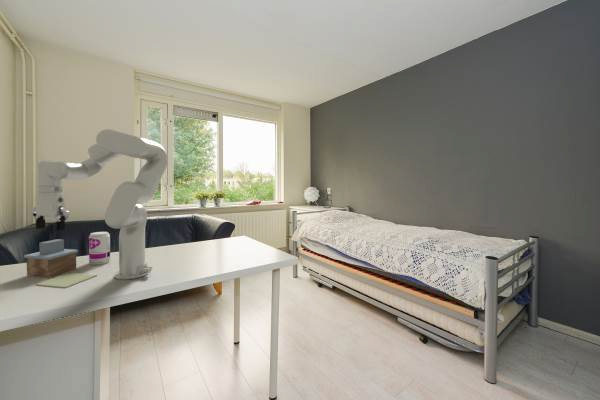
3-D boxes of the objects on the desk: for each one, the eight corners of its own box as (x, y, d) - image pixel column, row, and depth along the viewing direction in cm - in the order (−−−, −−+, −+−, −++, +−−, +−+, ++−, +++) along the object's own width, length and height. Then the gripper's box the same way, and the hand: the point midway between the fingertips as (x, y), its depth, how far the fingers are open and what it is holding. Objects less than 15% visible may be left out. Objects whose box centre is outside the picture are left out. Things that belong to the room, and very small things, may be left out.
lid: (78, 254, 116) (77, 239, 116) (49, 262, 104) (48, 245, 104) (55, 252, 117) (54, 237, 117) (24, 260, 105) (23, 243, 105)
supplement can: (98, 266, 121) (98, 235, 120) (84, 264, 123) (84, 233, 122) (114, 261, 129) (114, 232, 128) (101, 259, 131) (100, 231, 130)
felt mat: (96, 275, 109) (96, 275, 109) (65, 288, 96) (65, 287, 96) (70, 273, 111) (70, 272, 111) (35, 285, 98) (35, 284, 98)
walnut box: (76, 269, 116) (76, 252, 115) (50, 278, 105) (49, 259, 105) (55, 267, 117) (54, 250, 117) (27, 276, 106) (26, 257, 106)
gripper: (76, 191, 112) (76, 229, 113) (42, 188, 114) (42, 226, 115) (58, 191, 104) (58, 232, 105) (22, 189, 106) (22, 229, 107)
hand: (50, 229), depth 110 cm, fingers open, 9 cm apart
